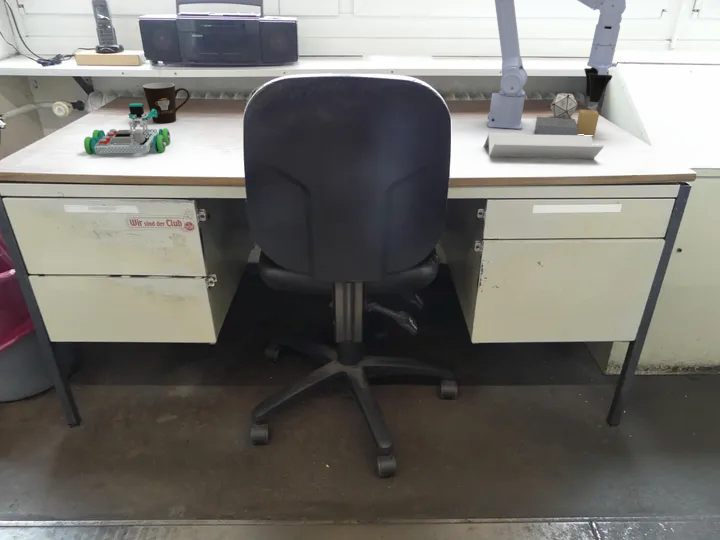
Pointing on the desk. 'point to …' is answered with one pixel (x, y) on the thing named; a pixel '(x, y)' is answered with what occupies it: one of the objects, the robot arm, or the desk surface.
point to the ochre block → (587, 122)
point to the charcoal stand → (555, 126)
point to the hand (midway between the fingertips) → (592, 98)
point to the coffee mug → (163, 101)
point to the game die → (563, 105)
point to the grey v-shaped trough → (542, 146)
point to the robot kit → (129, 136)
